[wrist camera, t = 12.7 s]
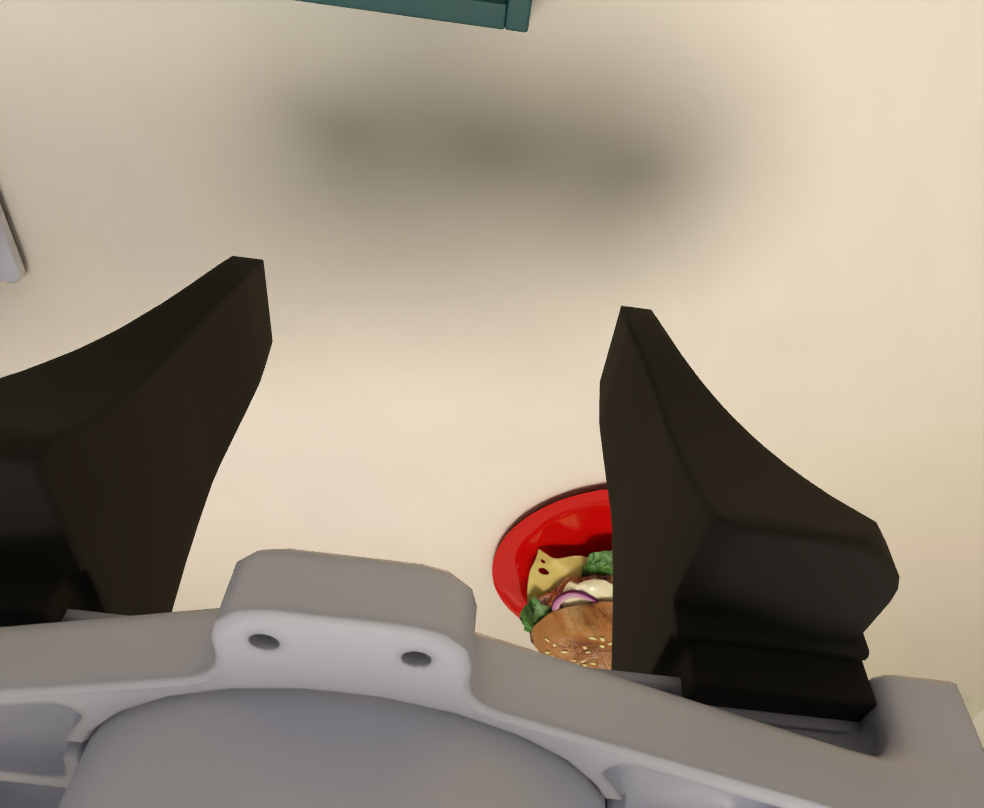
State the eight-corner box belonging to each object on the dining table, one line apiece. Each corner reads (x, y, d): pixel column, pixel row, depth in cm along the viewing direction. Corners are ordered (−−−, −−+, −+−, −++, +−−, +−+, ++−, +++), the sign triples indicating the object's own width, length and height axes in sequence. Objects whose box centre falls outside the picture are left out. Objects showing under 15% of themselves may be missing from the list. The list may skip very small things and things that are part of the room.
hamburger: (744, 645, 42) (767, 753, 38) (499, 639, 43) (493, 743, 39) (800, 482, 33) (838, 599, 28) (484, 479, 34) (474, 592, 29)
